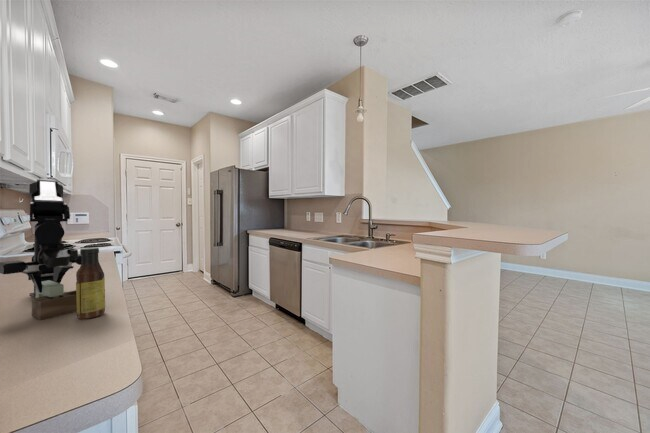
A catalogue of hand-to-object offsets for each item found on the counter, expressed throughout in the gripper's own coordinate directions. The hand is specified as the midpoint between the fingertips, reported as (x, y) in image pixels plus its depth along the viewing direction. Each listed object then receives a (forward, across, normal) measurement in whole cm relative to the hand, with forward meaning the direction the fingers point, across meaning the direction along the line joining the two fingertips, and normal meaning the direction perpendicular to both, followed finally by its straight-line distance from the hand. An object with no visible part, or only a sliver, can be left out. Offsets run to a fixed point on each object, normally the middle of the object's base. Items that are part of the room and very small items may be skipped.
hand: (47, 291), depth 79 cm
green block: (+6, 0, -1) cm, 6 cm away
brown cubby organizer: (+6, +2, -5) cm, 8 cm away
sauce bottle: (+6, +4, -16) cm, 17 cm away
